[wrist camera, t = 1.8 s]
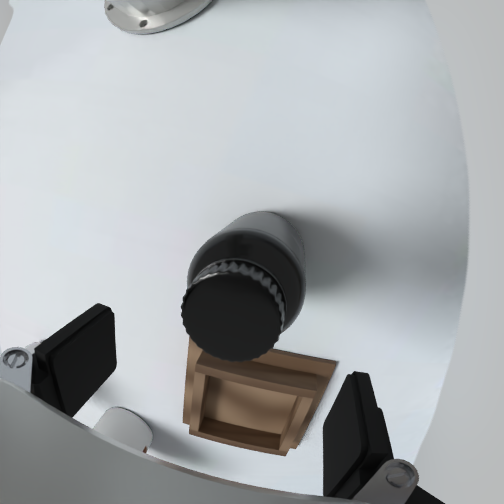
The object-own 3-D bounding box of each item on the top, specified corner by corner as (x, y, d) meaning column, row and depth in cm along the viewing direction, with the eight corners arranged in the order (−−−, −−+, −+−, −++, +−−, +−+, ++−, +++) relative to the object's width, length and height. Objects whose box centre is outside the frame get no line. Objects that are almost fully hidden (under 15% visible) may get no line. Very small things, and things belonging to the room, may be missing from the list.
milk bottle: (97, 405, 34) (24, 500, 15) (135, 405, 33) (60, 521, 14) (125, 440, 36) (68, 534, 17) (164, 443, 34) (109, 553, 15)
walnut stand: (191, 328, 28) (180, 345, 25) (335, 361, 26) (338, 381, 23) (184, 419, 32) (176, 436, 29) (296, 445, 31) (294, 464, 28)
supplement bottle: (321, 244, 24) (340, 314, 12) (270, 304, 26) (247, 400, 14) (253, 191, 23) (210, 215, 12) (205, 256, 25) (138, 324, 14)
